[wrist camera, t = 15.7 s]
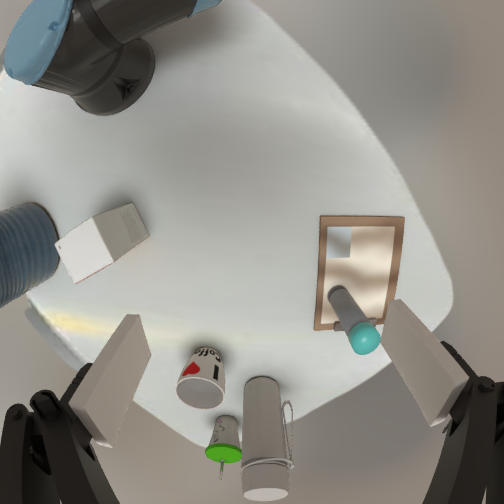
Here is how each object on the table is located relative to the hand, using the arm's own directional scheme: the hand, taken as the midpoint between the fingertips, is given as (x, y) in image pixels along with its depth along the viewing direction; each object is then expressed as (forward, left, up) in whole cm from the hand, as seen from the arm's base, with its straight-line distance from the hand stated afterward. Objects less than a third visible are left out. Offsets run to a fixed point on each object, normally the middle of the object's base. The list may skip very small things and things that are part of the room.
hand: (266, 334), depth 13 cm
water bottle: (+33, +1, -29) cm, 44 cm away
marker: (+12, +13, -28) cm, 33 cm away
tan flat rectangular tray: (+9, +17, -29) cm, 35 cm away
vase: (+1, -45, -29) cm, 54 cm away
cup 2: (+45, -8, -29) cm, 54 cm away
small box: (0, -22, -29) cm, 37 cm away
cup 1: (+25, -10, -29) cm, 40 cm away
